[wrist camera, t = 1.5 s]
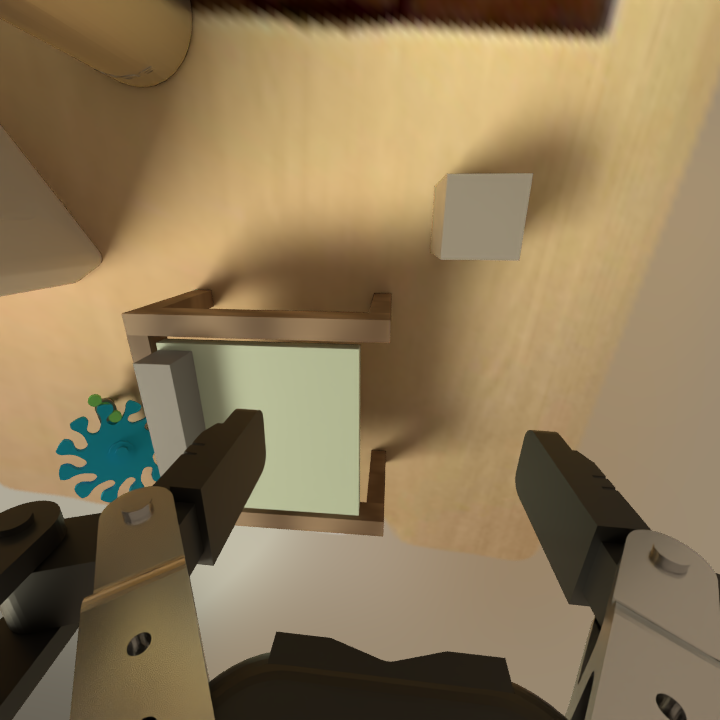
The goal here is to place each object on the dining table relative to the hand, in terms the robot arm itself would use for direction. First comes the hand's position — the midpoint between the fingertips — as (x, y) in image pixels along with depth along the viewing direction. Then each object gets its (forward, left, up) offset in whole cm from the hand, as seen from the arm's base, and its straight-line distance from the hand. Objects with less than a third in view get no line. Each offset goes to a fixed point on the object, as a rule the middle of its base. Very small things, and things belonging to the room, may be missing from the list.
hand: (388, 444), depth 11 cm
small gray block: (-7, +6, -19) cm, 20 cm away
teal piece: (+14, -27, -22) cm, 37 cm away
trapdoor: (+8, -9, -13) cm, 18 cm away
